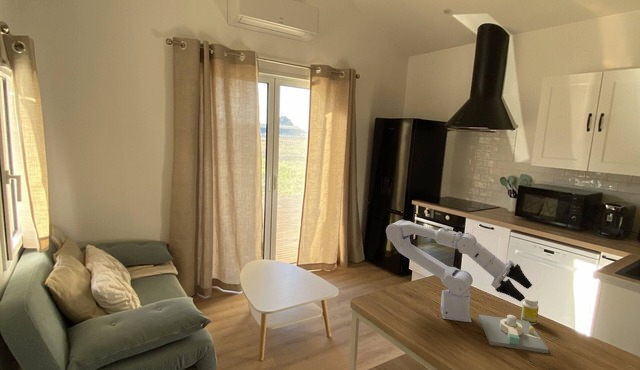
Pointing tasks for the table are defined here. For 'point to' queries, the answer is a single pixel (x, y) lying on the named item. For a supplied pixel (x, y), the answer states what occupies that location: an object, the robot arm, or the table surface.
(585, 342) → the table surface
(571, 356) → the table surface
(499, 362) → the table surface
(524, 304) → the supplement bottle
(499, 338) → the post board
